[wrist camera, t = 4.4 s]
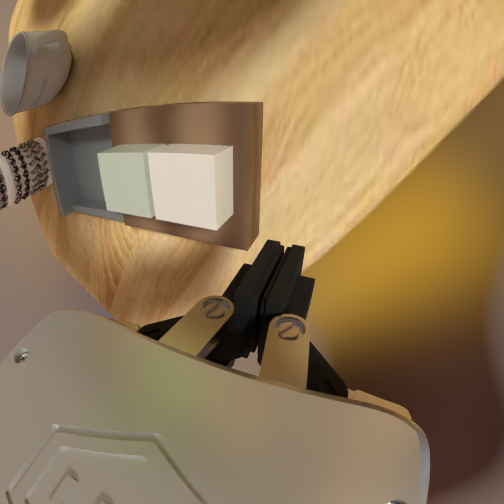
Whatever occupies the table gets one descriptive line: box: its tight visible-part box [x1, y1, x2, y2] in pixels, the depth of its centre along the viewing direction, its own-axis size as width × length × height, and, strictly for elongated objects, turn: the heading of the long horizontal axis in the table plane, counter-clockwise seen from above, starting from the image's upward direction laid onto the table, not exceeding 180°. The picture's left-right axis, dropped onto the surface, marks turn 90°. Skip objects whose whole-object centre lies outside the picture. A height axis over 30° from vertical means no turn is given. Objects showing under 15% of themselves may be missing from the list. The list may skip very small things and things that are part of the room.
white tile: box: [148, 144, 233, 231], centre depth 20 cm, size 6×6×3 cm
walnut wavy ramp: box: [109, 102, 263, 251], centre depth 23 cm, size 14×12×3 cm
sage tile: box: [97, 144, 166, 218], centre depth 22 cm, size 6×6×3 cm
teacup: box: [0, 30, 72, 116], centre depth 18 cm, size 14×11×8 cm
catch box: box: [44, 109, 125, 222], centre depth 26 cm, size 12×12×4 cm
